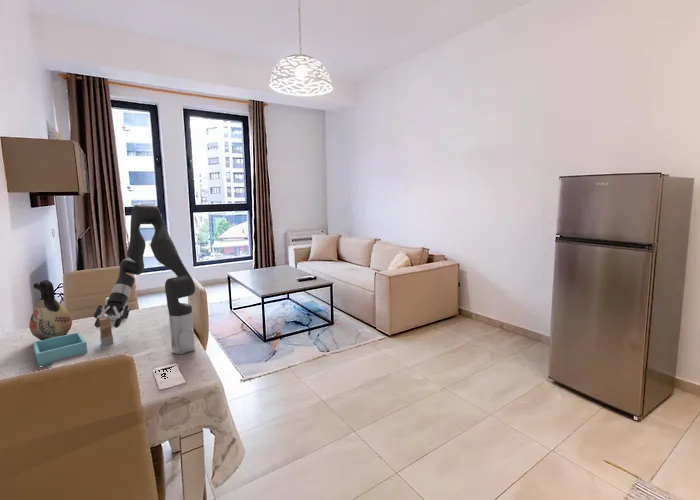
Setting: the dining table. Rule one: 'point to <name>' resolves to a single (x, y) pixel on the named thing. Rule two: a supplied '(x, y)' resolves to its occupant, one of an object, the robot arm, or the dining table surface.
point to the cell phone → (165, 369)
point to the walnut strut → (105, 331)
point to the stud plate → (99, 346)
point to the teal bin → (62, 352)
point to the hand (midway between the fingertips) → (106, 327)
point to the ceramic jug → (49, 314)
